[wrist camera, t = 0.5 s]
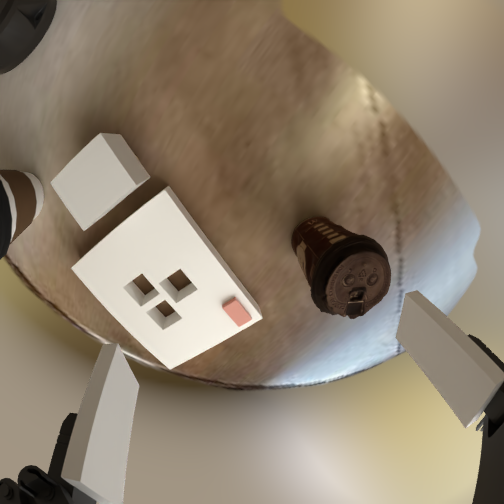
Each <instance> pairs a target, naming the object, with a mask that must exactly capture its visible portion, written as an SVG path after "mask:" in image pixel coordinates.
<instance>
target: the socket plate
mask: <svg viewBox="0 0 504 504" xmlns="http://www.w3.org/2000/svg"><path fill="white" fill-rule="evenodd" d="M179 269H181V270H182V271H183V272H184V274H185V275H186V276H187V277H188V278H189V280H190V281H191V282H192V283H191V284H189V285H188V286H186V287H184V288H183V289H181V290H180V291H178V290H177V289H176V288H175V287H174V286H173V285H172V283H171V282H170V281H169V280H168V279H167V277H169V276H170V275H171V274H173V273H174V272H176V271H177V270H179ZM72 270H73V271H74V272H75V273H76V275H77V276H78V277H79V278H80V279H81V281H82V282H83V283H84V284H85V285H86V287H87V288H88V289H89V290H90V291H91V292H92V293H93V295H94V296H95V297H96V298H97V299H98V300H99V301H100V302H101V303H102V305H103V306H104V307H105V308H106V309H107V310H108V311H109V312H110V313H111V314H112V315H113V316H114V317H115V318H116V319H117V320H118V321H119V322H120V323H121V324H122V325H123V326H124V327H125V328H126V329H127V330H128V331H129V332H130V333H131V334H132V335H133V336H134V337H135V338H136V339H137V340H138V341H139V342H140V343H141V344H142V345H143V346H144V347H145V348H146V349H147V350H148V351H150V352H151V353H152V354H153V355H154V356H155V357H156V358H157V359H158V360H160V361H161V362H162V363H163V364H164V365H165V366H166V367H168V368H169V369H172V368H174V367H176V366H178V365H180V364H182V363H183V362H185V361H187V360H189V359H191V358H193V357H195V356H197V355H198V354H200V353H202V352H204V351H206V350H208V349H210V348H211V347H213V346H215V345H217V344H219V343H220V342H222V341H224V340H226V339H227V338H229V337H231V336H233V335H234V334H236V333H238V332H240V331H241V330H243V329H245V328H247V327H248V326H250V325H252V324H253V323H255V322H257V321H259V320H260V319H262V314H261V311H260V308H259V305H258V304H257V303H256V301H255V300H254V299H253V297H252V296H251V295H250V294H249V292H248V291H247V290H246V288H245V287H244V286H243V285H242V283H241V282H240V281H239V279H238V278H237V277H236V275H235V274H234V273H233V272H232V270H231V269H230V268H229V266H228V265H227V264H226V262H225V261H224V260H223V258H222V257H221V256H220V254H219V253H218V252H217V250H216V249H215V248H214V246H213V245H212V244H211V242H210V241H209V240H208V238H207V237H206V236H205V234H204V233H203V232H202V230H201V229H200V228H199V226H198V225H197V224H196V222H195V221H194V219H193V218H192V217H191V215H190V214H189V213H188V211H187V210H186V209H185V207H184V206H183V204H182V203H181V202H180V200H179V199H178V198H177V196H176V195H175V193H174V192H173V191H172V189H171V188H170V187H169V186H167V187H166V188H165V189H163V190H162V191H161V192H159V193H158V194H157V195H155V196H154V197H153V198H152V199H150V200H149V201H148V202H146V203H145V204H144V205H143V206H141V207H140V208H139V209H138V210H136V211H135V212H134V213H133V214H131V215H130V216H129V217H128V218H126V219H125V220H124V221H123V222H122V223H120V224H119V225H118V226H117V227H116V228H114V229H113V230H112V231H111V232H110V233H109V234H107V235H106V236H105V237H104V238H103V239H102V240H101V241H99V242H98V243H97V244H96V245H95V246H94V247H93V248H92V249H91V250H89V251H88V252H87V253H86V254H85V255H84V256H83V257H82V258H81V259H80V260H79V261H78V262H77V263H76V264H75V265H74V266H73V267H72ZM140 274H143V275H144V276H145V277H146V278H147V280H148V281H149V282H150V283H151V284H152V285H153V286H154V288H155V289H153V290H152V291H150V292H149V293H148V294H146V295H145V294H144V293H143V292H142V291H141V290H140V289H139V288H138V287H137V285H136V284H135V283H134V282H133V281H132V280H134V279H135V278H136V277H138V276H139V275H140ZM164 300H166V301H167V302H168V303H169V304H170V305H171V307H172V308H173V309H174V310H175V312H174V313H172V314H170V315H169V316H167V317H165V316H164V315H163V314H162V313H161V312H160V311H159V310H158V309H157V308H156V307H155V306H156V305H158V304H159V303H161V302H162V301H164Z"/></svg>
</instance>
